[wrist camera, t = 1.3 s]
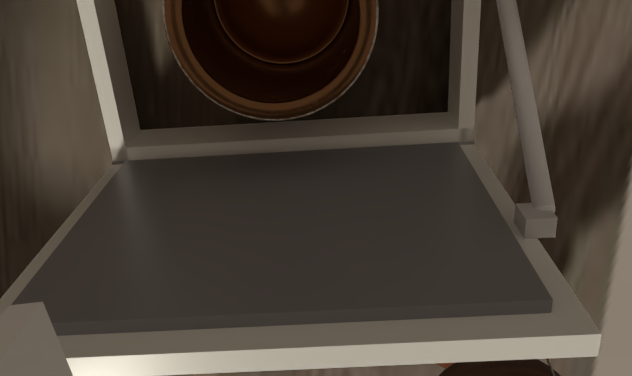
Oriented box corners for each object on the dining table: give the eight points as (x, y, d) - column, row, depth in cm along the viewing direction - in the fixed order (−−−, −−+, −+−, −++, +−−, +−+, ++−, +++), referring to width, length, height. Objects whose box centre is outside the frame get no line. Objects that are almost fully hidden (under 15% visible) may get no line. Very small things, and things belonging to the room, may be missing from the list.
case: (132, 158, 42) (-45, 386, 22) (63, -165, 34) (-333, -287, 13) (476, 138, 41) (628, 357, 21) (495, -198, 33) (783, -381, 12)
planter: (335, 98, 40) (339, 148, 31) (180, 49, 39) (140, 87, 30) (392, -66, 36) (415, -60, 27) (220, -128, 34) (186, -142, 26)
